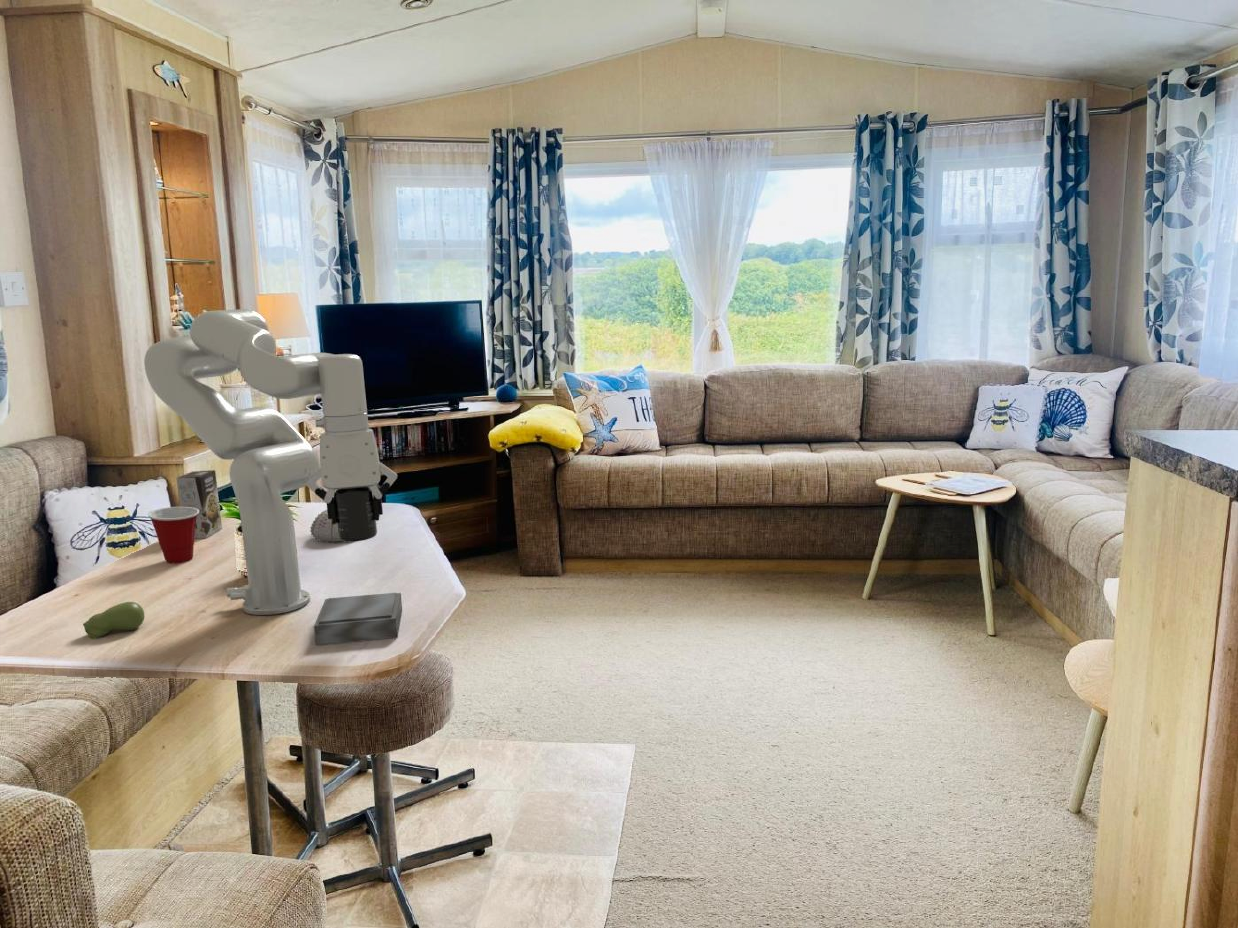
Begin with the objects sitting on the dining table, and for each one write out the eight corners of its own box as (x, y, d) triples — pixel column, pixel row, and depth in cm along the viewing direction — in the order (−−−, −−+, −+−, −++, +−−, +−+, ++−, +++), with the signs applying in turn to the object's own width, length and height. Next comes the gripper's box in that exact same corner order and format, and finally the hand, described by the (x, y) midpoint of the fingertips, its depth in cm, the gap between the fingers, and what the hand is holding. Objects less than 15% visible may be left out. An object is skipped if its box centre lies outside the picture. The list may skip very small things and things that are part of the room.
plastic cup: (186, 567, 208) (180, 517, 206) (144, 566, 210) (137, 516, 208) (215, 553, 219) (209, 505, 216) (174, 553, 220) (168, 505, 218)
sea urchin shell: (326, 530, 237) (323, 500, 235) (375, 530, 235) (372, 500, 233) (301, 545, 224) (298, 513, 223) (353, 545, 222) (350, 513, 221)
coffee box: (207, 538, 233) (200, 476, 230) (183, 539, 233) (174, 477, 230) (223, 528, 242) (216, 469, 239) (199, 529, 242) (191, 470, 239)
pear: (139, 603, 168) (78, 621, 164) (148, 628, 170) (88, 648, 166) (139, 594, 173) (80, 612, 169) (148, 619, 174) (90, 637, 170)
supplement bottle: (364, 530, 171) (358, 467, 169) (384, 535, 166) (378, 471, 164) (331, 538, 166) (324, 474, 164) (351, 544, 162) (344, 478, 159)
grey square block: (315, 645, 160) (313, 623, 159) (327, 617, 173) (325, 597, 172) (397, 637, 162) (395, 616, 161) (402, 610, 176) (400, 590, 175)
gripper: (292, 430, 157) (303, 530, 160) (395, 423, 160) (404, 521, 164) (298, 424, 164) (309, 520, 168) (396, 417, 168) (405, 511, 171)
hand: (356, 520), depth 166 cm, fingers closed on supplement bottle, 6 cm apart
